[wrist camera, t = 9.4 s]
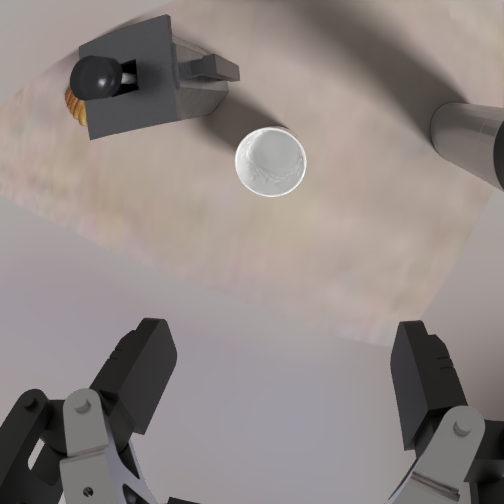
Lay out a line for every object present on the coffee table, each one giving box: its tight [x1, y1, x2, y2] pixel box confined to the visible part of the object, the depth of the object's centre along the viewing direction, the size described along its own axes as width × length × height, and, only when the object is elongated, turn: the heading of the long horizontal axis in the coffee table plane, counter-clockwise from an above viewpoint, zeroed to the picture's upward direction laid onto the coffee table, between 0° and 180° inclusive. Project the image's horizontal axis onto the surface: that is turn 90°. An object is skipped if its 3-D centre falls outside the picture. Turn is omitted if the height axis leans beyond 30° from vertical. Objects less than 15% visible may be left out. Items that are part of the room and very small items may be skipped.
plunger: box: [70, 56, 139, 101], centre depth 25 cm, size 8×8×15 cm
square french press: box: [79, 14, 240, 140], centre depth 31 cm, size 13×10×19 cm
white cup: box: [235, 126, 306, 197], centre depth 38 cm, size 8×8×10 cm
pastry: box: [65, 88, 88, 127], centre depth 40 cm, size 9×7×4 cm
